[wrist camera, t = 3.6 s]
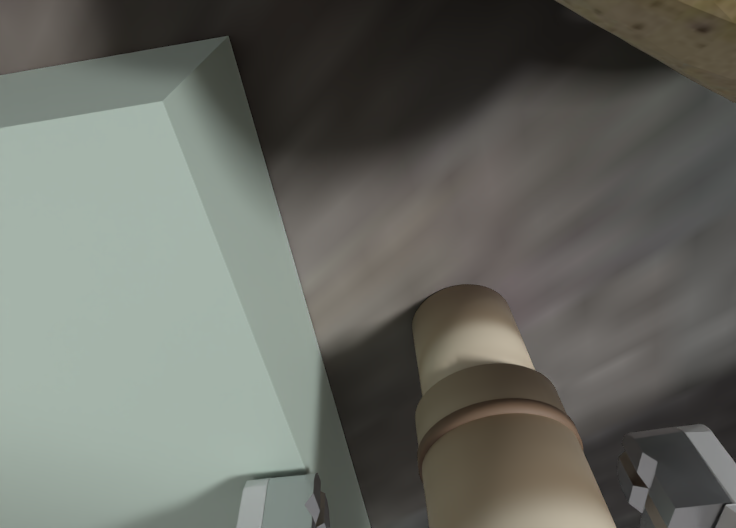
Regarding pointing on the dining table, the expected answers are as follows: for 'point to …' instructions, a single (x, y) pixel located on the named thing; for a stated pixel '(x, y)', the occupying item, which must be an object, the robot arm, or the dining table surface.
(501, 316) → the peg
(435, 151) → the dining table surface
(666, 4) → the ceramic mug
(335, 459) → the board
